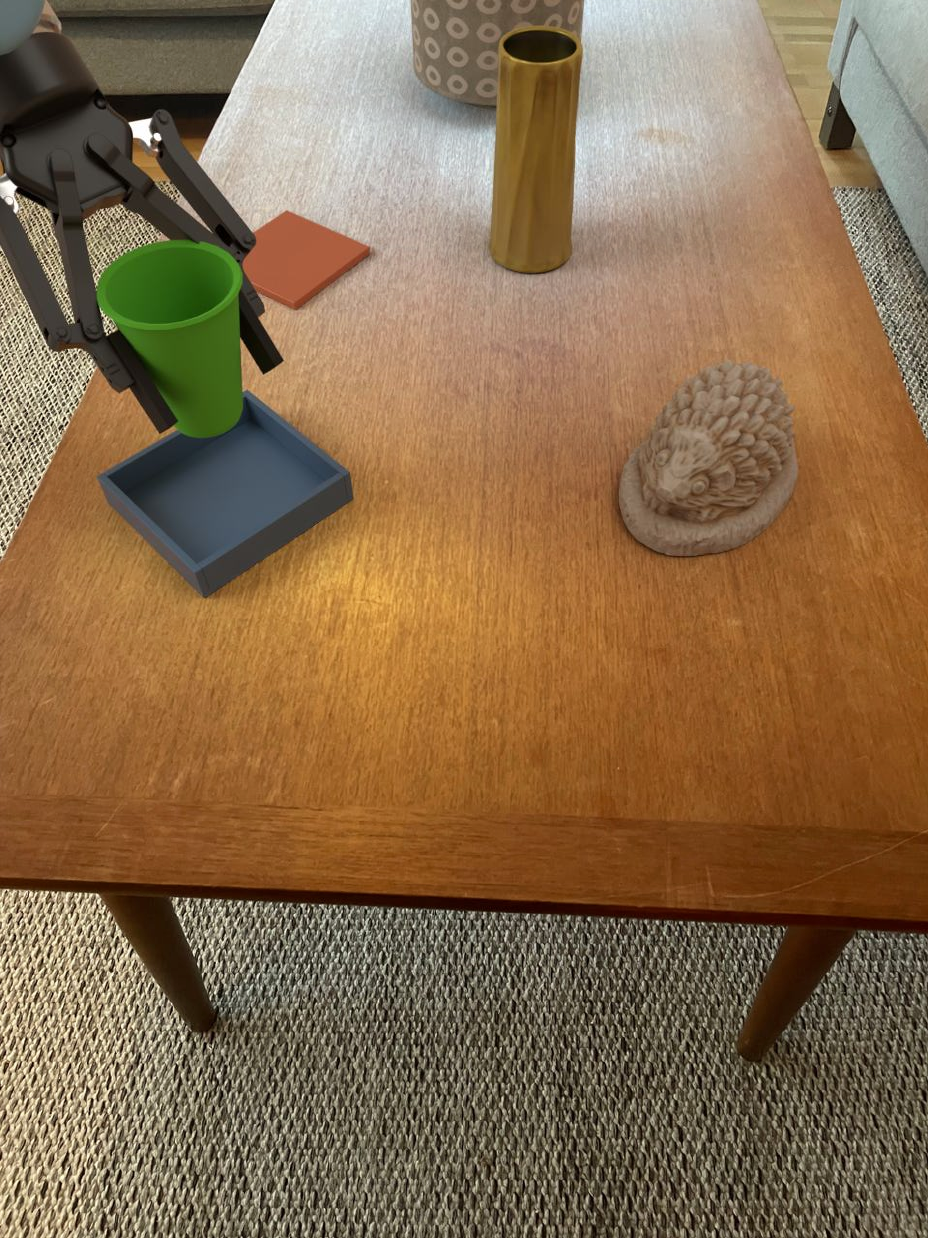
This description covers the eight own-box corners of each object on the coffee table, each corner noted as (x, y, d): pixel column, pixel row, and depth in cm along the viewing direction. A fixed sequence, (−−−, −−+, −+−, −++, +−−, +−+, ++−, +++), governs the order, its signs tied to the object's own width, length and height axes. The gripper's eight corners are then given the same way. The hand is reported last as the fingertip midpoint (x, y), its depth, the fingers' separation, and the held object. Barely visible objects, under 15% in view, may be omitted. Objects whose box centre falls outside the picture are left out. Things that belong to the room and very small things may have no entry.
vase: (514, 284, 94) (522, 76, 78) (473, 240, 98) (473, 35, 83) (587, 259, 96) (609, 52, 81) (544, 217, 100) (556, 13, 85)
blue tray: (204, 598, 72) (194, 572, 69) (107, 502, 78) (95, 475, 75) (354, 498, 78) (350, 471, 75) (253, 416, 83) (247, 388, 81)
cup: (119, 411, 71) (68, 277, 62) (225, 355, 74) (192, 222, 65) (186, 479, 67) (142, 346, 58) (296, 417, 70) (270, 283, 61)
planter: (564, 49, 122) (577, -127, 107) (587, 128, 111) (605, -57, 96) (411, 56, 121) (402, -120, 107) (418, 136, 110) (410, -49, 95)
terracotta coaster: (295, 310, 92) (293, 302, 91) (210, 269, 96) (209, 261, 95) (370, 253, 97) (369, 246, 96) (287, 216, 101) (286, 209, 100)
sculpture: (580, 508, 77) (593, 410, 69) (702, 398, 84) (727, 298, 76) (710, 588, 72) (739, 493, 64) (827, 464, 79) (867, 365, 71)
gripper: (145, 39, 67) (323, 341, 73) (-150, 152, 59) (78, 482, 65) (169, -25, 61) (363, 313, 67) (-159, 92, 52) (96, 466, 58)
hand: (222, 396), depth 66 cm, fingers closed on cup, 8 cm apart
